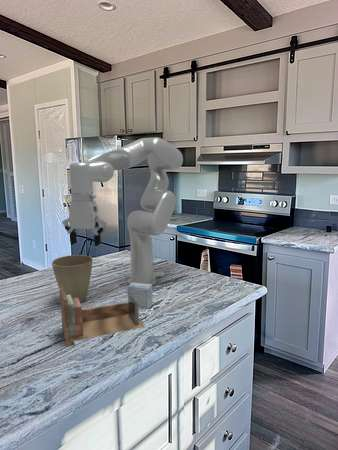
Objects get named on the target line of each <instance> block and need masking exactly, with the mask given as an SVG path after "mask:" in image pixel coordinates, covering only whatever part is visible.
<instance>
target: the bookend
mask: <svg viewBox="0 0 338 450" xmlns="http://www.w3.org/2000/svg"><path fill="white" fill-rule="evenodd" d="M127 299H128V300H127V302H128V310H129V317H130V318H131V319H132V321H133V322H134V324H135V325H139V319H140V318H139V307H138V303H137V302H136V301H135V300H134V299H133V297H132V296H131V295H130V296H128V295H127Z"/></svg>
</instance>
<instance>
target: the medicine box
mask: <svg viewBox="0 0 338 450" xmlns="http://www.w3.org/2000/svg"><path fill="white" fill-rule="evenodd" d="M130 295H131V296H132V297H133V299H134V300H135V301H136V302H137V303H138V308H144V309H149V308H151V306H152V305H153V285H151V284H143V283H131V284H130V285H129V284H128V286H127V297H128V296H130Z"/></svg>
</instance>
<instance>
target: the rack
mask: <svg viewBox="0 0 338 450" xmlns="http://www.w3.org/2000/svg"><path fill="white" fill-rule="evenodd" d="M58 288H60V289H59V298H60V299H59V301H60V302H59V303H60V313H61V325H62V326H61V328H62V332H63V336H64V337H63V338H64V341H65V344H66V346H67V347H69V346H74V345H76V344H75V342H76V341H77V342H78V341H81V340H86V339H92V338H96V337H101V336H106V335H111V334H117V333H120V332H121V333H122V332H126V331H131V330H136V329H141V328H145V327H146V326H145V324H144V323H143V321H142V320H141V319H140V318H139V325H135V324H134V322H133V321H132V319H131V318H130V317H129V310H128V301H126V302H125V301H124V302H119V303H113V304H108V305H102V306H96V307H90V308H83V307H82V305H81V304H82V303H81V302H80V301H79V299H78V298H71V295H66V293H65V290H64V287H63V286H58Z"/></svg>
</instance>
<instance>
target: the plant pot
mask: <svg viewBox="0 0 338 450" xmlns="http://www.w3.org/2000/svg"><path fill="white" fill-rule="evenodd" d="M51 267H52V270H53V274H54V278H55V280H56V283H57V286H58V288H59V286H63V287H64V290H65V293H66V295H71V298H78V299H79V301H80V303H82V302H84V301H85V300H86V297H87V295H88V291H89V287H90V283H91V276H92V269H93V257H92V256H90V255H85V254H84V255H83V254H73V255H65V256H60V257H57V258H55V259H53V260H52V261H51ZM59 290H60V288H59Z"/></svg>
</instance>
